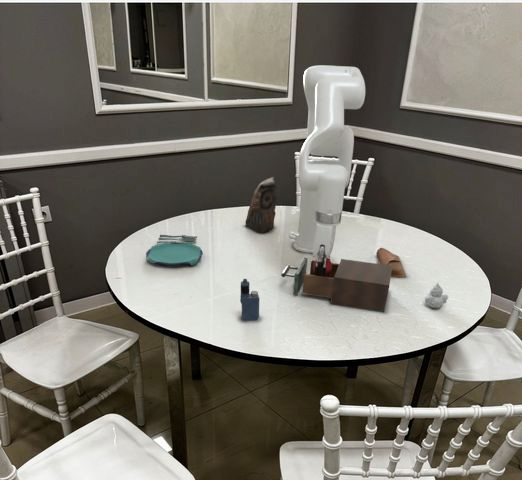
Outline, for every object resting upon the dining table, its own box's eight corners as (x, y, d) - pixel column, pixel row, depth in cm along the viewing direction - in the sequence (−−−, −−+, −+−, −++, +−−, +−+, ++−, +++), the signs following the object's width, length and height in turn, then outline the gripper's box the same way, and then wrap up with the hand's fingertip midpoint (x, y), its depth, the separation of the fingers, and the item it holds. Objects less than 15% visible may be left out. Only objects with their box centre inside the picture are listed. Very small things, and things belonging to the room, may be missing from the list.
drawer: (277, 292, 145) (278, 271, 141) (288, 274, 156) (289, 255, 152) (340, 301, 140) (343, 280, 137) (346, 283, 151) (349, 263, 148)
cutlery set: (141, 268, 159) (141, 262, 157) (155, 237, 184) (154, 232, 182) (201, 269, 160) (200, 263, 158) (206, 238, 185) (206, 233, 183)
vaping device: (240, 316, 133) (240, 277, 126) (258, 316, 133) (259, 277, 127) (240, 321, 131) (240, 281, 124) (259, 320, 131) (260, 281, 125)
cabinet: (330, 304, 141) (334, 277, 136) (338, 284, 153) (341, 258, 148) (384, 312, 138) (389, 285, 133) (387, 291, 150) (392, 265, 145)
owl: (272, 223, 203) (274, 175, 192) (283, 232, 193) (286, 182, 182) (244, 225, 199) (245, 176, 188) (254, 235, 189) (255, 184, 178)
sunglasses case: (407, 276, 159) (400, 259, 156) (387, 284, 161) (380, 268, 158) (398, 256, 174) (392, 240, 171) (380, 264, 176) (373, 249, 173)
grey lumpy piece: (421, 301, 144) (427, 277, 140) (442, 302, 144) (449, 278, 140) (426, 310, 140) (432, 285, 135) (448, 311, 140) (455, 286, 135)
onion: (315, 272, 149) (318, 248, 145) (333, 276, 147) (336, 252, 143) (309, 279, 145) (311, 255, 140) (327, 283, 143) (330, 258, 138)
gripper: (320, 206, 143) (315, 262, 153) (309, 224, 129) (303, 284, 139) (345, 209, 141) (337, 265, 151) (336, 227, 128) (329, 288, 138)
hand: (321, 273), depth 145 cm, fingers closed on onion, 6 cm apart
